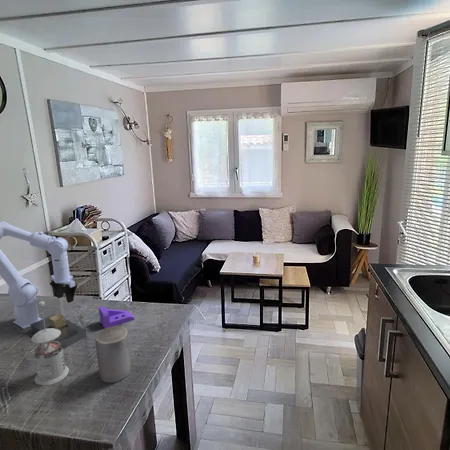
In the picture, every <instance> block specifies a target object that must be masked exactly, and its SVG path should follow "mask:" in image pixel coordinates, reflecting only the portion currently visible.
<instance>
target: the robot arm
mask: <svg viewBox="0 0 450 450" xmlns="http://www.w3.org/2000/svg"><path fill="white" fill-rule="evenodd" d="M7 236H8V237H11V238H15V239H19V240H23V241H25V242H29V244H30V246H32V247H35V248H39V249H41V250H44V251H47V253H48V254H50V255H51V256H50V257H51V263H52V270H53V274H52V275H50V280H51V282H49V285H50V287H52V289H53V292H54V293H55V296H56V297H57V299H60V298H64V296H65V298H66V302H67V303H68V304H69V303H72V302H74V299H75V298H74V297H75V293H76V290H77V287H78V284H77V283H76V281H74V280H73V278H74V276H73V275H71V273H70V272H71V271H70V265H69V257H68V251H67V250H68V248H69V242H68V241H67V239H66V238H64V237H62V236H61V237H56V236H55V235H54V236H52V235H48V234H45V233H44V231H35V232H34V233H33V232H30V231H28V230H25V229H23V228H20V227H18V226H15V225H12V224H10V223H9V222H7V221H3V220H0V240H1V238H2V237H3V238H4V237H7ZM0 277H1V279H3V281H4V282H5V283H6V285H7V286H8V291H7V293H8V295H9V296H10V301H11V303H12V304H13V314H14V319H15V320H13V324H15V325H17V326H18V327H20V328H22V329H24V330H25V329H27V328H29V327H30V324H32V323H35V322H37V321H40V320H42V319H43V318H41V317H40V316H39V309H38V308H39V307H38V303H37V295H38V292H39V288H38V286H37V285H36V284H34V283H32V282H31V281H30V280H29V279H28V278H25V277H22V276H21V274H20V273H19V271H18V270H17V268H16V267H15V266H14V265H13V264H12V262H11V261H10V260H9V258H8V257H7V256H6V255H5V253H4V252H3V250H2V249H1V248H0ZM30 328H31V327H30Z"/></svg>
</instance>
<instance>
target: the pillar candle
mask: <svg viewBox="0 0 450 450" xmlns="http://www.w3.org/2000/svg"><path fill="white" fill-rule="evenodd" d="M94 341H95V348H96V355H97V356H96V357H97V365H98V373H99V378H100V380H101V381H102V382H105V383H108V384H109V383H111V384H112V383H113V384H114V383H117V382H119V381H121V380H124V379H125V378H127V377H129V375H130V374H131V372H132V360H131V352H130V344H129V343H130V342H129V333H128V329H127V328H126V327H124V326H120V325H116V326H113V327H108V328H102V329H101V330H100V331H98V332H97V333H96V334H95V335H94Z"/></svg>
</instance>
